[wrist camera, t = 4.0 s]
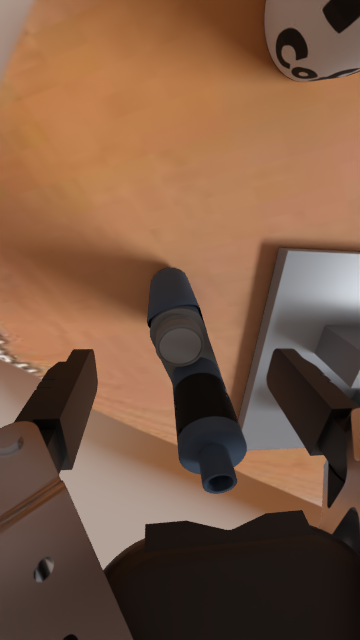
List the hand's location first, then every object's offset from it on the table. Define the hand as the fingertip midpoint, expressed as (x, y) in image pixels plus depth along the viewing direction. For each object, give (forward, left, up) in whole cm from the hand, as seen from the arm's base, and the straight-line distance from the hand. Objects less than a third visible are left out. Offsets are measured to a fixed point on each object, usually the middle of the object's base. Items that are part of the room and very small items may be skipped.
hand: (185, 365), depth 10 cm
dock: (+6, +15, -8) cm, 18 cm away
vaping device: (0, 0, -8) cm, 8 cm away
